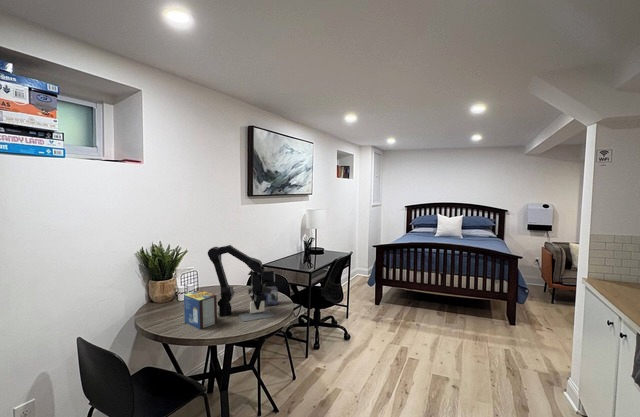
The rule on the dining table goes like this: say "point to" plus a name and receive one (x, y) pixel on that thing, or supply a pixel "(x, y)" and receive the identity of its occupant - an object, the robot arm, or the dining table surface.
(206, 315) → the protein box
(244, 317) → the rubber mat
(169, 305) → the dining table surface
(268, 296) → the small box
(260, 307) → the cream slab
